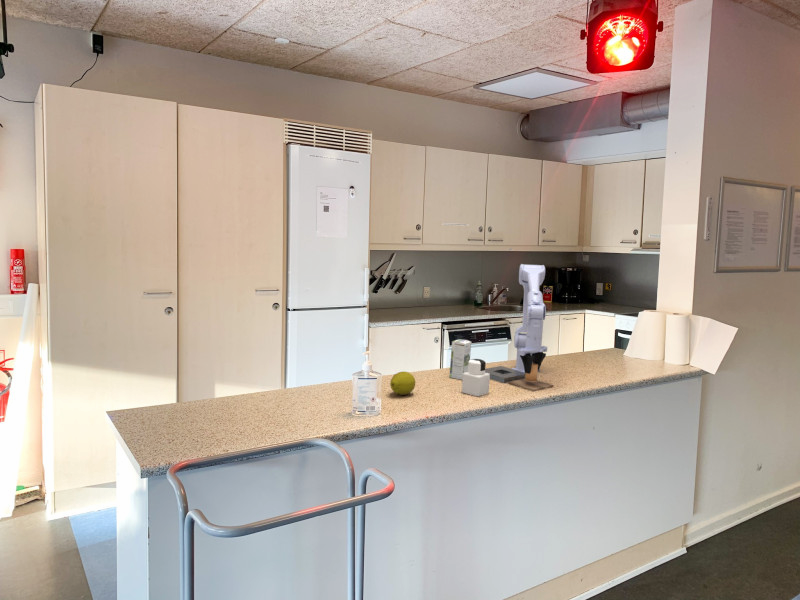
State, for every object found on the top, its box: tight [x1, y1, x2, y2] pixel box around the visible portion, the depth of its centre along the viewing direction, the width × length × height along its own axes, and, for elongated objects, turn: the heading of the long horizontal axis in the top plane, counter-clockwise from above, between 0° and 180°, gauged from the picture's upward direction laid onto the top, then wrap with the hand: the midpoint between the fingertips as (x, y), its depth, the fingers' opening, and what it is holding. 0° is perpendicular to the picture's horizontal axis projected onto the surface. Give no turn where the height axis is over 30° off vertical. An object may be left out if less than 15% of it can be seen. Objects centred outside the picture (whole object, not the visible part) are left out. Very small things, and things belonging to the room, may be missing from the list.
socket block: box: [484, 365, 525, 384], centre depth 240 cm, size 14×14×2 cm
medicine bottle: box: [461, 358, 491, 397], centre depth 216 cm, size 7×7×12 cm
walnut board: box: [507, 379, 555, 392], centre depth 230 cm, size 12×12×1 cm
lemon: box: [389, 371, 416, 396], centre depth 210 cm, size 11×8×8 cm
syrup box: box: [449, 339, 472, 381], centre depth 236 cm, size 6×6×14 cm
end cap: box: [525, 363, 539, 381], centre depth 229 cm, size 4×4×6 cm
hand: (531, 372), depth 229 cm, fingers closed on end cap, 4 cm apart
